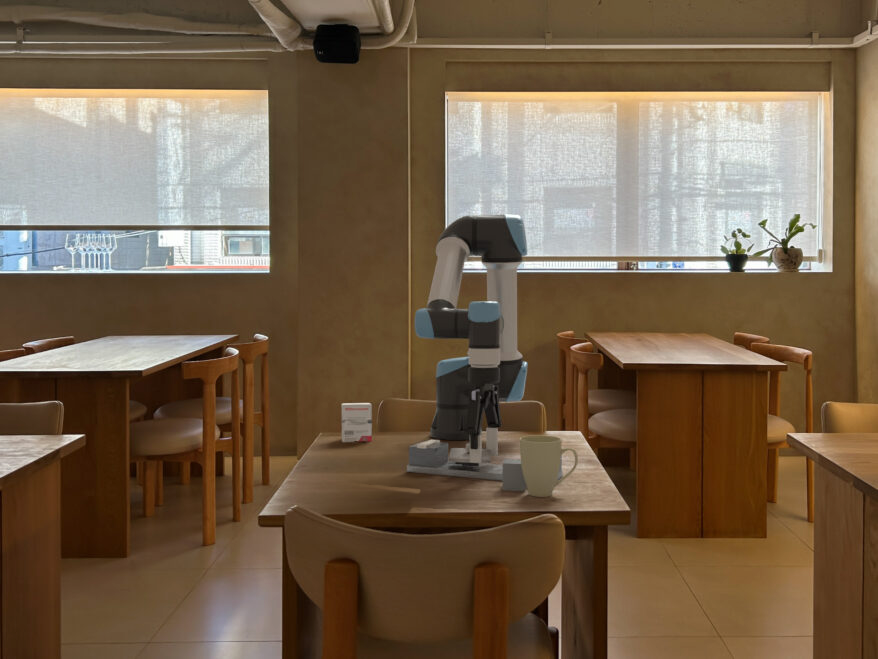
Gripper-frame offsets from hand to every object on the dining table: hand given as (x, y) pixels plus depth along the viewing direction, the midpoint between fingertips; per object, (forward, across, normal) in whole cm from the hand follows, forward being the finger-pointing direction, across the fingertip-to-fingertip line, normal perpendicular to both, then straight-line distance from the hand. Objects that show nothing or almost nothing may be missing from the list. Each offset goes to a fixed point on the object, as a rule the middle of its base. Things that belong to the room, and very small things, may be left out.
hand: (483, 458), depth 202 cm
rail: (+4, 0, 0) cm, 4 cm away
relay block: (+4, +11, +12) cm, 16 cm away
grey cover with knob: (+2, -1, 0) cm, 3 cm away
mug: (+4, +14, +20) cm, 24 cm away
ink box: (+4, -24, -48) cm, 54 cm away
